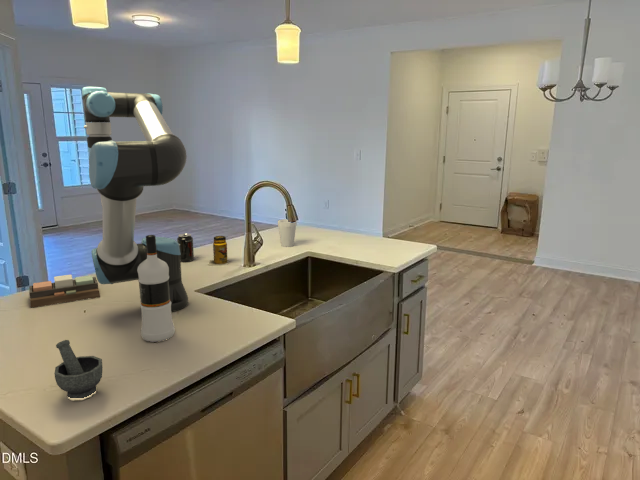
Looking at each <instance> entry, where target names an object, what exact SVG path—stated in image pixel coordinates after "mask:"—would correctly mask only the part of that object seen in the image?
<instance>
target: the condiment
mask: <svg viewBox="0 0 640 480" xmlns="http://www.w3.org/2000/svg"><path fill="white" fill-rule="evenodd" d="M212 248H213V249H212V252H213V259H211V260H209V263H208V266H226V265H229V259H228V244H227V237H226V236H225V235H216V236H214V237H213V243H212Z"/></svg>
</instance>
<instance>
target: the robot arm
mask: <svg viewBox="0 0 640 480" xmlns="http://www.w3.org/2000/svg"><path fill="white" fill-rule="evenodd" d="M81 91H82V92H81V93H82V97H81V99H82V103H83V104H82V105H83V111H84V119H85V121H84V122H85V125H83V128H84V129H86V135H88V136H87V137H86V143H87V147H88V148H89V149H90V151H89V158H88V164H89V165H88V175H89V176H88V177H89V182H90V186H91V187H92V188H93V189H96V190H97V192H98V194H100V201H101V207H102V239H101V240H100V242H98V245H97V246H96V247H95V248H92V249H91V252H90V253H91V258H92V263H93V268H94V272H95V275H96V276H95V277H96V280H97V282H98V284H100V285H114V284H119V283H125V282H131V281H132V282H133V281H138V280H139V279H138V272H137V268H138V266H139V265H140V264H141V263H142V262H143V261H145V260H146V259H147V247H146V237H143V238H142V239H141V240H140V241H141V242H140V243H136V241H135V240H134V239H135V226H136V212H137V211H136V210H137V199H138V198H139V197H140V196H142V193H143V191H144V187H151V186H152V187H157V186H158V187H159V186H162V185H166V184H169V183H171V182H172V181H174V180H176V178H178V176H180V175H181V173H182V172H183V170H184V168H185V166H186V163H187V157H188V156H187V155H188V154H187V148H186V147H185V145H184V143H183V142H182V140H181V139H180V138H179V137H178V136H176V135H175V134H174V133H173V132H172V131H171V128H170V127H169V125H168V124H167V122H166V120H165V118H164V117H163V111H164V110H163V102H162V98H161V96H160V95H159V94H155V93H154V94H153V93H149V92H147V93H145V92H144V93H141V92H138V93H136V92H135V93H134V92H115V91H114V92H113V91H111V92H109V91H108V90H107V89H106V87H100V86H84V87H82V90H81ZM110 118H135V119H136V122H137V123H138V126H139V128H140V130H141V133H142V134H143V136H144V138H145V140H134V141H133V140H131V141H130V140H129V141H122V140H121V141H115V140H113V139H112V136H111V135H112V125H111V120H110ZM156 250H157V258H159V259H161V260H162V261H164V262H166V263H167V265H168V267H169V291H170V301H171V313H173V312H176V311H179V310H182V309H185V308H186V307H187V306H188V305H189V303H190V301H189V296H188V293H187V290H186V288H185V286H184V284H183V280H182V279H183V278H182V264H181V262H182V261H180V255H181V253H180V248H179V243H178V242H177V239H176V240H175V239H174V238H170V237H166V236H165V237H162V236H156Z"/></svg>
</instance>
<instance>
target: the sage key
mask: <svg viewBox="0 0 640 480" xmlns="http://www.w3.org/2000/svg"><path fill="white" fill-rule="evenodd" d="M92 277H93V275H85V276H77V277H75V278H74V280H75V282H76V286H78V285H85V284H92V283H94V282H93V278H92Z"/></svg>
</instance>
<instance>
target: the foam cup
mask: <svg viewBox="0 0 640 480" xmlns="http://www.w3.org/2000/svg"><path fill="white" fill-rule="evenodd" d="M287 219H288V218H284V219H279V220H277V226H278V232H279V233H278V234H279V240H280V246H281V247H283V248H291V247H294V245H295V239H296V238H295V237H296V230H297V221H296V222H295V223H290V222H288V220H287Z"/></svg>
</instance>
